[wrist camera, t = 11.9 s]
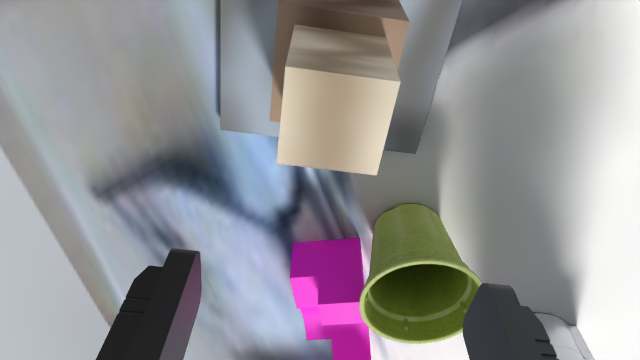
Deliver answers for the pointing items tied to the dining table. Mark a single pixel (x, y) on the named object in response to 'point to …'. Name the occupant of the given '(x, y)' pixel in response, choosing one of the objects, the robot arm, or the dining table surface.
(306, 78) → the maple brick
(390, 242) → the plant pot
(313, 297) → the toy block
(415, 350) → the dining table surface
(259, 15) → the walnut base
